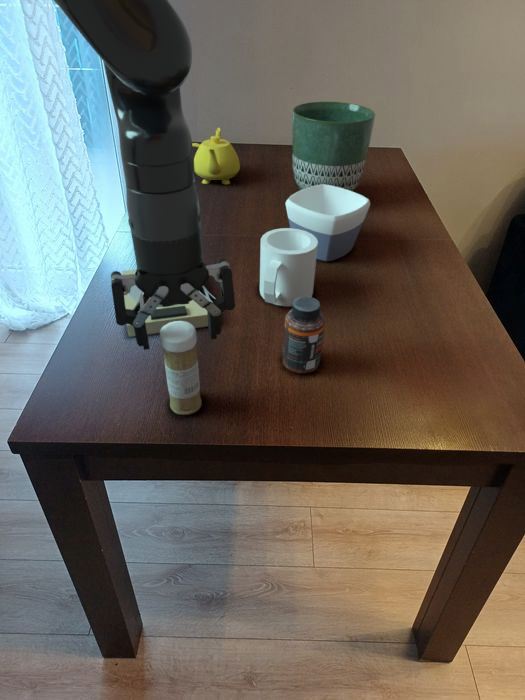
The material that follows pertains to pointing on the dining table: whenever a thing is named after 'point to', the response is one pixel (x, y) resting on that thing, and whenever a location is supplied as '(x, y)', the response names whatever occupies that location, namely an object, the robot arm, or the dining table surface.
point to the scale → (165, 312)
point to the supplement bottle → (303, 335)
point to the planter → (330, 143)
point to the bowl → (328, 217)
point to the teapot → (216, 159)
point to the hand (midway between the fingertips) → (179, 340)
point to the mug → (287, 265)
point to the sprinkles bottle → (181, 366)
